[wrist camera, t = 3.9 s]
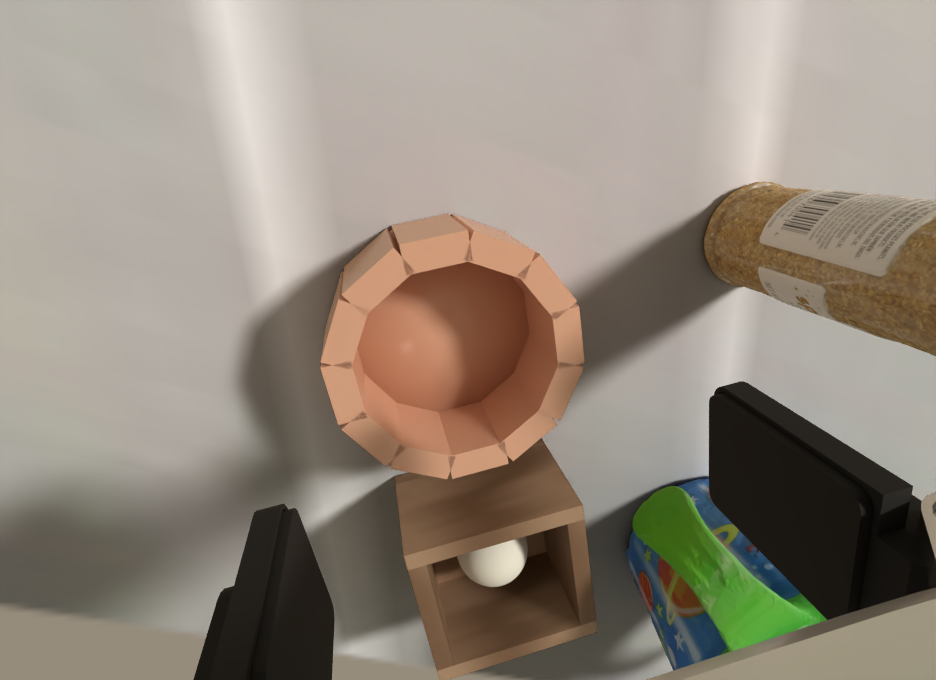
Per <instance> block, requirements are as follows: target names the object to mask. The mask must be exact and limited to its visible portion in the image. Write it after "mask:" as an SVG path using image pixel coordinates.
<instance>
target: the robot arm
mask: <svg viewBox="0 0 936 680" xmlns="http://www.w3.org/2000/svg"><path fill="white" fill-rule="evenodd" d="M912 489H913V486H912V485H910V484H909V483H907V482H906V481H904V480H902V479H901V478H899V477H897V476H896V475H894V474H893V473H891V472H889V471H888V470H886V469H885V468H883V467H881V466H880V465H878V464H877V463H875V462H873V461H872V460H870V459H869V458H867V457H865V456H864V455H862V454H860V453H859V452H857V451H856V450H854V449H852V448H851V447H849V446H848V445H846V444H844V443H843V442H841V441H840V440H838V439H836V438H835V437H833V436H832V435H830V434H828V433H827V432H825V431H823V430H822V429H820V428H819V427H817V426H815V425H814V424H812V423H811V422H809V421H807V420H806V419H804V418H803V417H801V416H799V415H798V414H796V413H795V412H793V411H791V410H790V409H788V408H787V407H785V406H783V405H782V404H780V403H778V402H777V401H775V400H774V399H772V398H770V397H769V396H767V395H766V394H764V393H762V392H761V391H759V390H758V389H756V388H754V387H753V386H751V385H750V384H748V383H746V382H737V383H733V384H730V385H726V386H722V387H719V388H717V389H716V391H715V393H714V396H712V397H711V398H710V401H709V494H710V497H711V499H712V501H713V503H714V505H715V506H716V507H717V508H718V509H719V510H720V511H721V512H722V513H723V514H724V515H725V516H726V517H727V518H728V519H729V520H730V521H731V522H732V523H733V525H734V526H735V527H736V528H737V529H738V530H739V531H740V532H741V533H742V534H743V535H744V536H745V537H746V538H747V539H748V540H749V541H750V542H751V543H752V544H753V545H754V546H755V547H756V548H757V549H758V550H759V551H760V552H761V553H762V554H763V555H764V556H765V557H766V558H767V559H768V560H769V561H770V562H771V563H772V564H773V565H774V566H775V567H776V568H777V569H778V570H779V571H780V572H781V573H782V574H783V575H784V576H785V577H786V579H787V580H788V581H789V582H790V583H791V584H792V585H793V586H794V587H795V588H796V589H797V590H798V591H799V592H800V593H801V594H802V595H803V596H804V597H805V598H806V599H807V600H808V601H809V602H810V603H811V604H812V605H813V606H814V607H815V608H816V609H817V610H818V611H819V612H820V613H821V614H822V615H823V616H824V617H825V618H826V619H827V620H826V621H823V622H820V623H817V624H814V625H811V626H808V627H805V628H802V629H799V630H796V631H793V632H790V633H786V634H783V635H780V636H777V637H774V638H771V639H768V640H765V641H762V642H759V643H756V644H753V645H750V646H747V647H744V648H740V649H737V650H734V651H731V652H728V653H725V654H722V655H719V656H716V657H713V658H710V659H707V660H704V661H701V662H698V663H695V664H692V665H689V666H686V667H683V668H680V669H677V670H674V671H671V672H668V673H665V674H662V675H659V676H656V677H653V678H650V679H647V680H936V492H934V493H932V494H929V495H927V496H926V497H925V498H924V499H923V500H922V501H921V500H919V499H918V498H916V497H915V496H913V495H911V494H912ZM333 639H334V609H333V604H332V601H331V598H330V595H329V593H328V590H327V587H326V585H325V582H324V579H323V577H322V574H321V571H320V569H319V566H318V563H317V561H316V558H315V555H314V553H313V550H312V548H311V545H310V542H309V540H308V537H307V534H306V532H305V529H304V526H303V524H302V521H301V518H300V516H299V513H298V511H297V510H296V509H295V508H293V509H289V510H288V508H287V507H286V505H285V504H281V505H277V506H273V507H269V508H266V509H262V510H258V511H256V512H255V513H254V515H253V519H252V522H251V526H250V530H249V533H248V537H247V541H246V544H245V548H244V552H243V555H242V559H241V563H240V566H239V570H238V574H237V577H236V581H235V585H234V586H232V587H229V588H225V589H224V590H223V591H222V592H221V593H220V595H219V598H218V600H217V603H216V607H215V610H214V613H213V617H212V620H211V623H210V627H209V630H208V633H207V637H206V640H205V643H204V647H203V650H202V653H201V657H200V660H199V663H198V667H197V670H196V673H195V677H194V680H332V662H333Z"/></svg>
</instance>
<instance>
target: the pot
mask: <svg viewBox="0 0 936 680" xmlns="http://www.w3.org/2000/svg"><path fill="white" fill-rule="evenodd" d="M391 226H392V229H391V230H388V229H387V228H386V229H385V230H384V231H383V232H381V233H380V234H379V235H378V236H377V237H376V238H375V239H374V240H373V241H372V242H371V243H369V244H368V245H367V246H366V247H365V248H364V249H363V250H362V251H361V252H360V253H359V254H357V255H356V256H355V257H354V258H353V259H352V260H351V261H350V262H349V263H348V264H347V265H345V266H344V272H343V271H341V275H340V278H339V282H338V285H337V289H336V292H335V296H334V299H333V303H332V306H331V310H330V313H329V316H328V320H327V324H326V330H325V336H324V342H323V349H322V355H321V361H320V362H321V367H320V369H321V372H322V375H323V378H324V381H325V385H326V388H327V391H328V394H329V397H330V400H331V404H332V407H333V410H334V413H335V416H336V419H337V423H338V425H341V424H342V426H341V430H342V431H344V432H345V433H346V434H347V435H348V436H350V437H351V438H352V439H353V440H354V441H356V442H357V443H358V444H359V445H360V446H362V447H363V448H364V449H365V450H366V451H368V452H369V453H370V454H371V455H372V456H374V457H375V458H376V459H377V460H378V461H380V462H381V463H382V464H383V465H384V466H387V465H388V464H389V463H390V469H395V470H400V471H406V472H411V473H416V474H422V475H427V476H432V477H438V478H443V479H447V478H448V476H449V473H450V472H451V476H452V479H454V478H458V477H462V476H465V475H469V474H473V473H476V472H480V471H484V470H487V469H491V468H495V467H499V466H502V465H506V464H508V458H507V456H508V457H509V458H510V459H511V460H512V461H514V460H515V459H517V458H518V457H519V456H520V455H521V454H523V453H524V452H525V451H526V450H527V449H529V448H530V447H531V446H532V445H533V444H535V443H536V442H537V441H538V440H539V439H541V438H542V437H543V436H544V435H545V434H546V433H548V432H549V431H550V430H551V429H552V428H554V427H555V426H556V425H557V423H556V421H555V420H554V418H555V419H559V420H561V418H562V416H563V414H564V412H565V409H566V407H567V405H568V403H569V400H570V398H571V396H572V394H573V391H574V389H575V387H576V385H577V382H578V380H579V378H580V376H581V373H582V371H583V369H584V368H583V367H582V366H581V365H580V364H582V363H585V360H584V350H583V340H582V330H581V320H580V310H579V306H578V305H577V304H575V303H576V302H577V300H576V299H575V298H574V297H573V295H572V294H571V293H570V292H569V290H568V289H567V288H566V287H565V285H564V284H563V283H562V281H561V280H560V279H559V278H558V276H557V275H556V274H555V273H554V271H553V270H552V269H551V267H550V266H549V265H548V264H547V262H546V261H545V260H544V259H543V257H542V256H541V255H540V254H538V253H537V252H536V251H534V250H533V249H531V248H529V247H528V246H526V245H525V244H523V243H521V242H520V241H518V240H517V239H515V238H513V237H512V236H510V235H509V234H507V233H505V232H503V231H500V230H498V229H495V228H492V227H489V226H486V225H483V224H480V223H477V222H474V221H472V220H469V219H466V218H463V217H460V216H457V215H454V214H453V215H452V217H451V216H450V215H449V214H443V215H439V216H434V217H429V218H424V219H420V220H415V221H410V222H405V223H401V224H396V225H391Z"/></svg>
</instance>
